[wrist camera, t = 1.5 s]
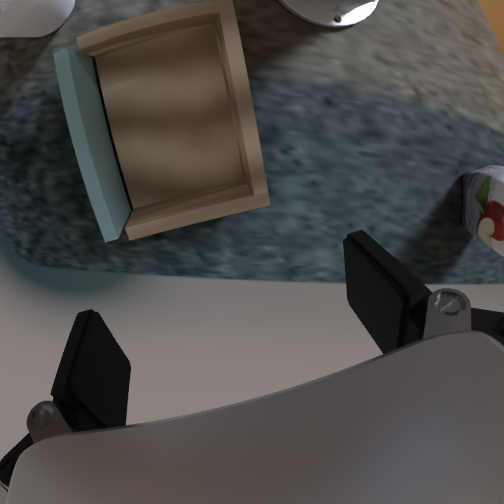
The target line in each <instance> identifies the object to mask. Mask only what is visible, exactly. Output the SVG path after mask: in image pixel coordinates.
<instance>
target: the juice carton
mask: <svg viewBox="0 0 504 504" xmlns="http://www.w3.org/2000/svg"><path fill="white" fill-rule="evenodd" d="M462 226H463V228H465V229H466V230H467V231H468V232H470V233H471V234H472V235H474V236H475V237H476V238H478V239H479V240H480V241H482V242H483V243H485V244H486V245H488V246H489V247H491V248H492V249H494V250H495V251H496V252H498V253H499V254H501V255H502V256H504V167H503V166H495V165H489V166H486V167H483V168H481V169H478V170H475V171H471V172H468V173H465V174H463V211H462Z"/></svg>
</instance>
